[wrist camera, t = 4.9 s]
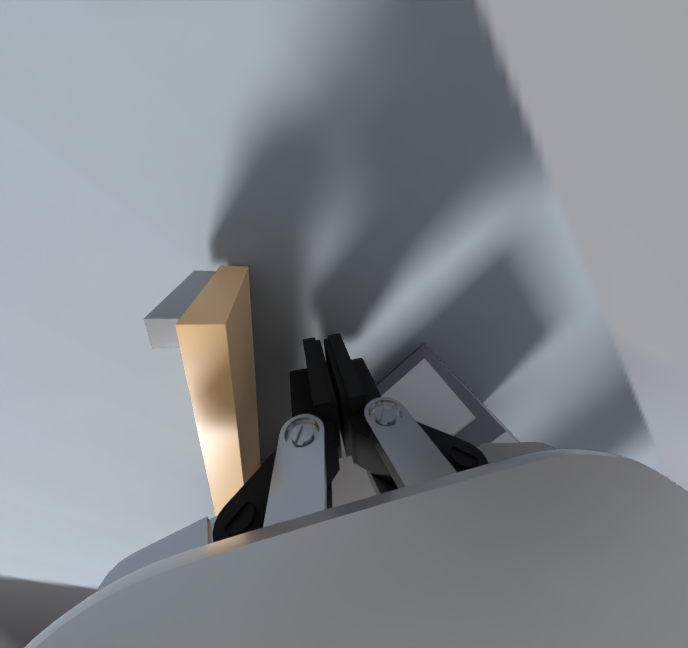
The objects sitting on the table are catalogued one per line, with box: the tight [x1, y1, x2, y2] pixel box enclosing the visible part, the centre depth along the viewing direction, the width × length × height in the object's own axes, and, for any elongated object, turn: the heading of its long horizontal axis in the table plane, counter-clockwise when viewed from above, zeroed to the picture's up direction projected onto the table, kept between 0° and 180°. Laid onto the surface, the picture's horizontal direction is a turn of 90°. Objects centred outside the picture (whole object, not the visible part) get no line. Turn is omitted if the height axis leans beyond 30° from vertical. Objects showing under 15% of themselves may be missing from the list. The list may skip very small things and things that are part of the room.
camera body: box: [332, 344, 521, 507], centre depth 15 cm, size 18×9×7 cm, turn 132°
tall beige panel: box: [144, 265, 261, 516], centre depth 11 cm, size 14×2×5 cm, turn 172°
